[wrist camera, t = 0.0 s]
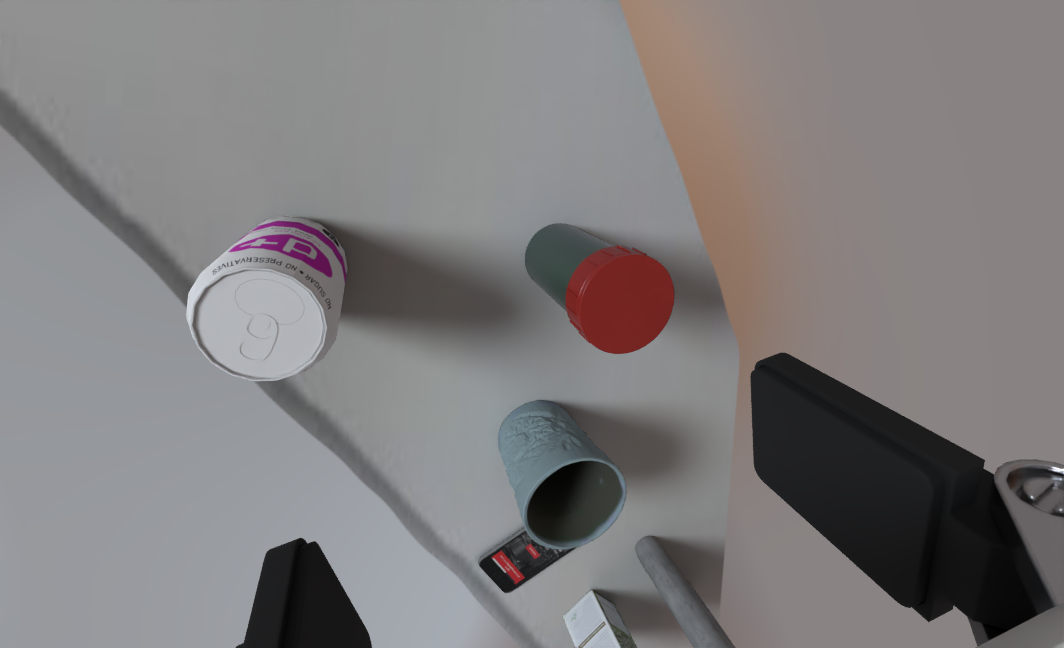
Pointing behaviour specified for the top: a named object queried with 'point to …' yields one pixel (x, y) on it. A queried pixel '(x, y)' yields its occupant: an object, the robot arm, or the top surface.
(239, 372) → the supplement can
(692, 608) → the hip flask
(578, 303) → the lid
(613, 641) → the syrup box
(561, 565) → the top surface
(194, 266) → the top surface
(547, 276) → the jar
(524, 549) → the smartphone
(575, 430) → the embossed blue cup
